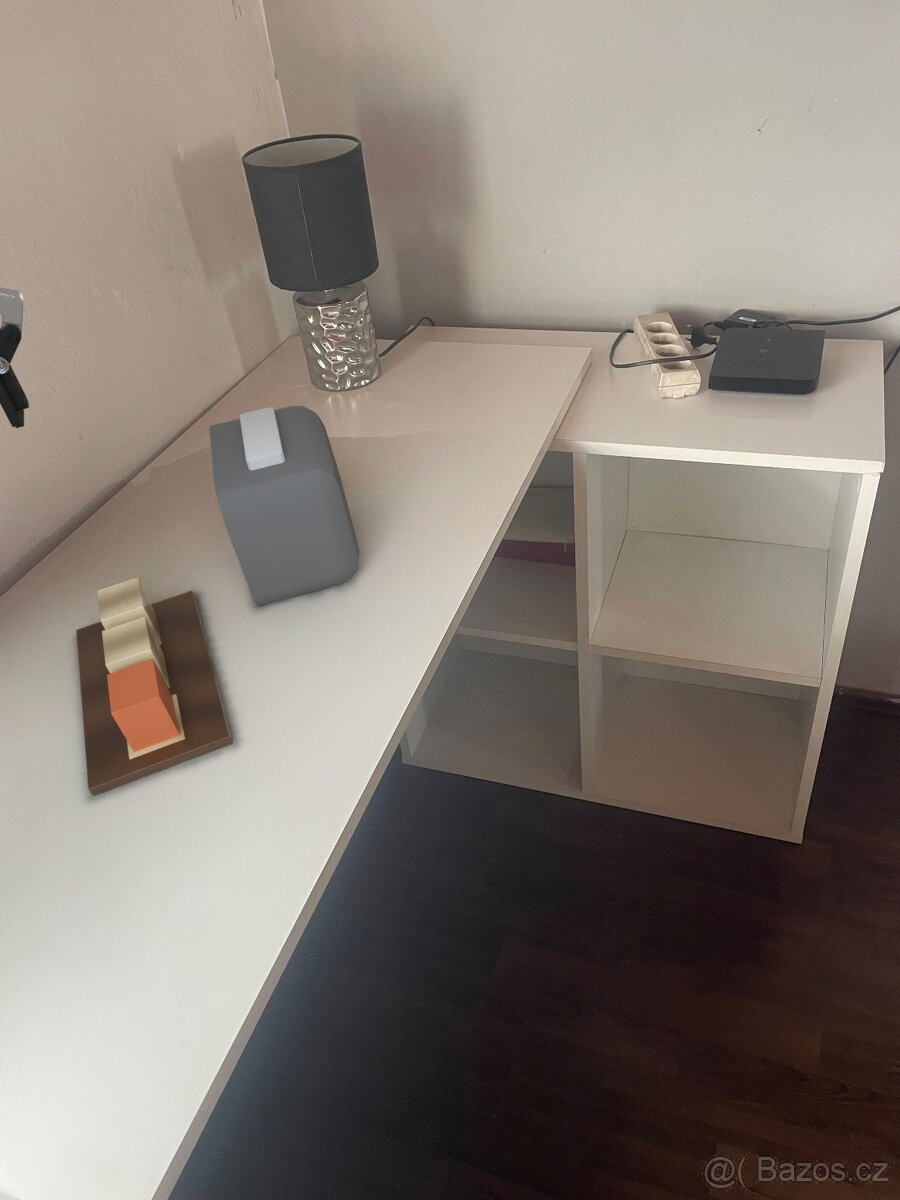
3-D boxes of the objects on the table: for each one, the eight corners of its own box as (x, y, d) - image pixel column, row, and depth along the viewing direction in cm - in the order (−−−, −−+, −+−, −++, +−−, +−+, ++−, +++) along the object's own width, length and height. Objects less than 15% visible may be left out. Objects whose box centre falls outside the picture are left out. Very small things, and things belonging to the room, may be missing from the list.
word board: (232, 743, 74) (228, 735, 74) (93, 796, 72) (87, 788, 71) (195, 597, 91) (191, 589, 90) (80, 636, 88) (75, 628, 88)
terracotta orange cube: (180, 735, 75) (159, 696, 71) (134, 752, 74) (111, 713, 70) (172, 697, 78) (152, 658, 75) (128, 713, 77) (106, 674, 74)
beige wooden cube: (162, 644, 84) (143, 606, 81) (121, 658, 83) (100, 621, 80) (156, 614, 88) (138, 576, 84) (117, 627, 87) (97, 590, 84)
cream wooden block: (170, 688, 79) (150, 649, 76) (127, 703, 78) (105, 665, 75) (163, 654, 83) (145, 616, 80) (122, 668, 82) (101, 630, 79)
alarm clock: (248, 528, 99) (204, 406, 89) (344, 503, 100) (312, 380, 90) (260, 617, 87) (211, 488, 76) (369, 588, 88) (336, 457, 78)
